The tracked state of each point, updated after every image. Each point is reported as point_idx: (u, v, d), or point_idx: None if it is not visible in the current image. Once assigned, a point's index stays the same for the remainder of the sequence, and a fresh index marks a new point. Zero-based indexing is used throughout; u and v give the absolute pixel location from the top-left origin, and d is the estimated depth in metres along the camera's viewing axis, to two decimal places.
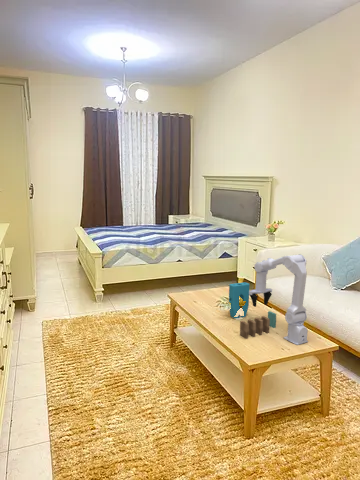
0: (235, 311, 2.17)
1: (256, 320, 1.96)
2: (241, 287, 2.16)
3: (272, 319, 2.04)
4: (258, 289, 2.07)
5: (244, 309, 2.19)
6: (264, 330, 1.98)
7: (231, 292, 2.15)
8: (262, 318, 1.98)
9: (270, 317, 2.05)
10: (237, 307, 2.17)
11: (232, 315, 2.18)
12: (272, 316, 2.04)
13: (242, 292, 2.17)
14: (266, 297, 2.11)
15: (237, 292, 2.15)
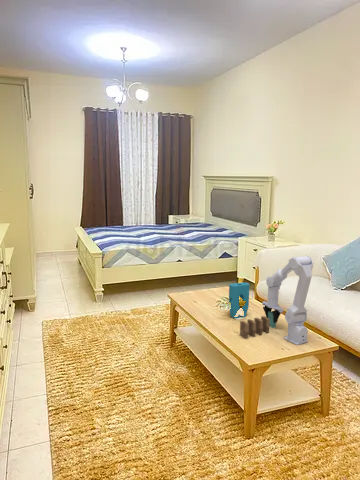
0: (235, 311, 2.17)
1: (256, 320, 1.96)
2: (241, 287, 2.16)
3: (272, 319, 2.04)
4: None
5: (244, 309, 2.19)
6: (264, 330, 1.98)
7: (231, 292, 2.15)
8: (262, 318, 1.98)
9: (270, 317, 2.05)
10: (237, 307, 2.17)
11: (232, 315, 2.18)
12: (272, 316, 2.04)
13: (242, 292, 2.17)
14: None
15: (237, 292, 2.15)
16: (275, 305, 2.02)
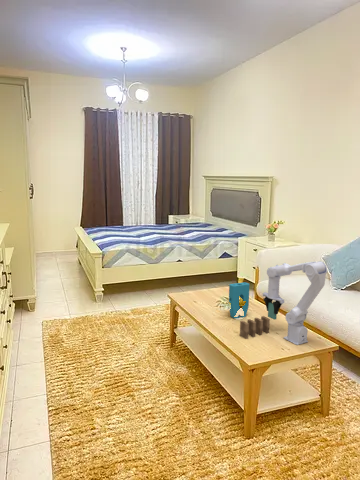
0: (235, 311, 2.17)
1: (256, 320, 1.96)
2: (241, 287, 2.16)
3: (273, 311, 1.98)
4: None
5: (244, 309, 2.19)
6: (264, 330, 1.98)
7: (231, 292, 2.15)
8: (262, 318, 1.98)
9: (271, 308, 1.99)
10: (237, 307, 2.17)
11: (232, 315, 2.18)
12: (273, 307, 1.98)
13: (242, 292, 2.17)
14: None
15: (237, 292, 2.15)
16: (276, 296, 1.95)
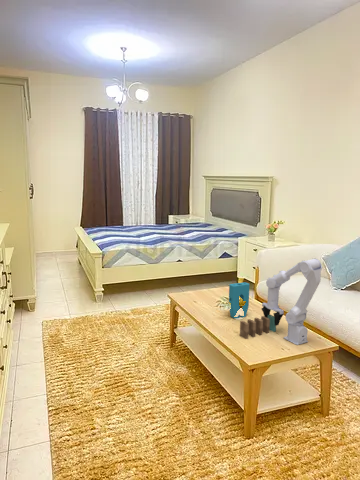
0: (235, 311, 2.17)
1: (256, 320, 1.96)
2: (241, 287, 2.16)
3: (272, 323, 1.99)
4: None
5: (244, 309, 2.19)
6: (264, 330, 1.98)
7: (231, 292, 2.15)
8: (262, 318, 1.98)
9: (270, 320, 2.00)
10: (237, 307, 2.17)
11: (232, 315, 2.18)
12: (272, 320, 1.99)
13: (242, 292, 2.17)
14: None
15: (237, 292, 2.15)
16: (275, 307, 1.96)
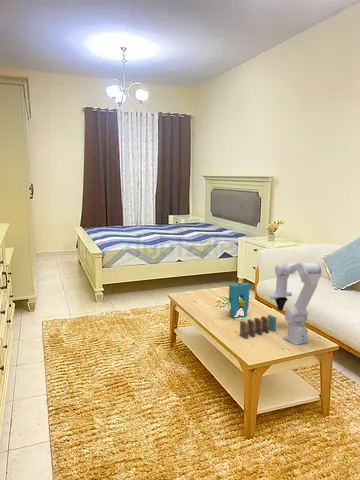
0: (235, 311, 2.17)
1: (256, 320, 1.96)
2: (241, 287, 2.16)
3: (272, 323, 1.99)
4: (279, 293, 1.98)
5: (244, 309, 2.19)
6: (264, 330, 1.98)
7: (231, 292, 2.15)
8: (262, 318, 1.98)
9: (270, 320, 2.00)
10: (237, 307, 2.17)
11: (232, 315, 2.18)
12: (272, 320, 1.99)
13: (242, 292, 2.17)
14: None
15: (237, 292, 2.15)
16: None
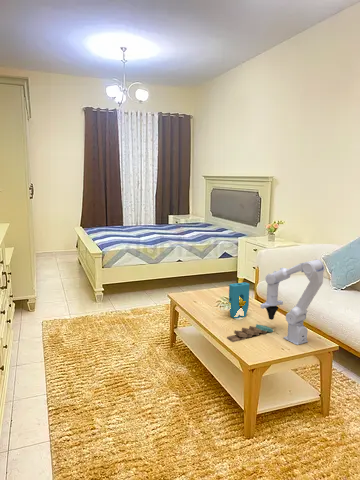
0: (235, 311, 2.17)
1: (244, 331, 1.93)
2: (241, 287, 2.16)
3: None
4: (270, 302, 1.96)
5: (244, 309, 2.19)
6: None
7: (231, 292, 2.15)
8: (251, 329, 1.95)
9: None
10: (237, 307, 2.17)
11: (232, 315, 2.18)
12: (262, 329, 1.96)
13: (242, 292, 2.17)
14: None
15: (237, 292, 2.15)
16: None
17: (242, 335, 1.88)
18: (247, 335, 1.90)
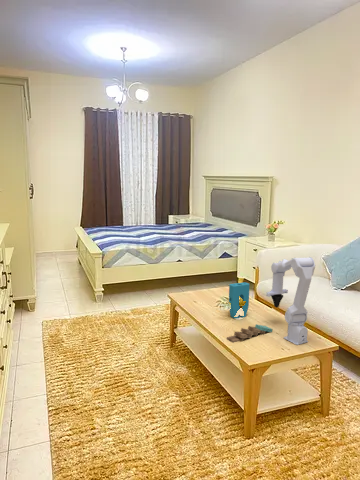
0: (235, 311, 2.17)
1: None
2: (241, 287, 2.16)
3: None
4: (275, 290, 2.04)
5: (244, 309, 2.19)
6: None
7: (231, 292, 2.15)
8: (250, 329, 1.95)
9: None
10: (237, 307, 2.17)
11: (232, 315, 2.18)
12: (261, 329, 1.96)
13: (242, 292, 2.17)
14: None
15: (237, 292, 2.15)
16: None
17: (243, 336, 1.86)
18: (247, 336, 1.88)
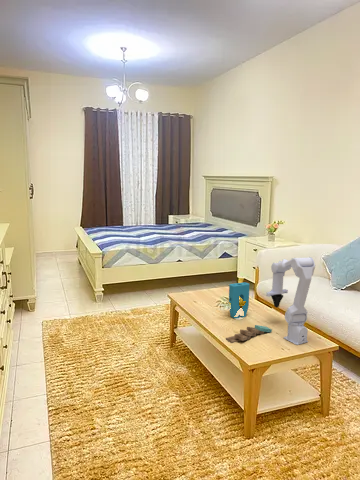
0: (235, 311, 2.17)
1: (243, 333, 1.90)
2: (241, 287, 2.16)
3: None
4: (275, 290, 2.04)
5: (244, 309, 2.19)
6: None
7: (231, 292, 2.15)
8: None
9: None
10: (237, 307, 2.17)
11: (232, 315, 2.18)
12: None
13: (242, 292, 2.17)
14: None
15: (237, 292, 2.15)
16: None
17: (244, 338, 1.84)
18: (247, 337, 1.87)
